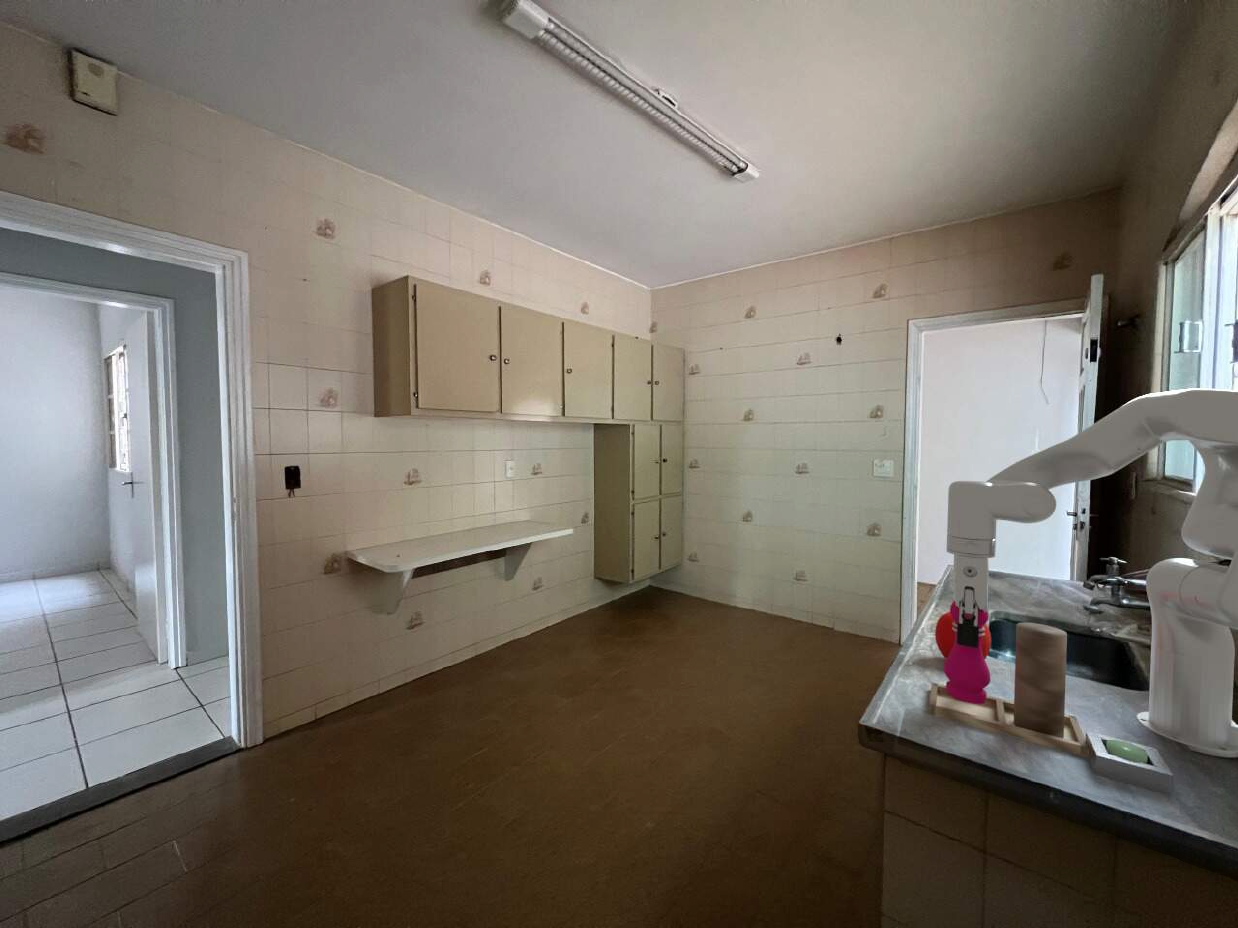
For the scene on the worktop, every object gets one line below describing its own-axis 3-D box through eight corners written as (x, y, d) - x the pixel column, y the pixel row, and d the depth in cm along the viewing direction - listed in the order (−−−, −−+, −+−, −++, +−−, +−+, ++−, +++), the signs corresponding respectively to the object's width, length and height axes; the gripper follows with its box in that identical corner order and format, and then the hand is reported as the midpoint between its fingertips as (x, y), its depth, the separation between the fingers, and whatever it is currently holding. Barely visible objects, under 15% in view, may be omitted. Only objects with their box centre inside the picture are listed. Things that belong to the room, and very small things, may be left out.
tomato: (933, 651, 123) (934, 601, 123) (986, 661, 118) (988, 608, 117) (935, 668, 113) (937, 614, 113) (994, 679, 108) (995, 622, 108)
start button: (1141, 771, 76) (1142, 745, 76) (1150, 786, 73) (1151, 760, 73) (1102, 760, 79) (1103, 736, 79) (1109, 775, 75) (1110, 749, 75)
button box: (1154, 773, 77) (1155, 748, 77) (1172, 802, 70) (1173, 775, 70) (1085, 754, 81) (1085, 730, 81) (1095, 780, 75) (1096, 755, 75)
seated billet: (1060, 726, 88) (1063, 627, 87) (1066, 744, 82) (1070, 639, 82) (1012, 714, 92) (1014, 619, 91) (1015, 731, 86) (1018, 630, 86)
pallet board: (1075, 730, 88) (1075, 716, 88) (1088, 762, 79) (1089, 747, 79) (931, 694, 101) (932, 682, 101) (928, 718, 92) (928, 705, 92)
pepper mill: (977, 691, 95) (981, 588, 95) (997, 708, 88) (1002, 597, 88) (936, 685, 97) (940, 584, 97) (953, 702, 89) (957, 592, 90)
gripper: (998, 556, 83) (994, 661, 84) (993, 542, 97) (990, 631, 98) (945, 550, 87) (941, 650, 88) (947, 537, 101) (945, 623, 102)
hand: (967, 639), depth 93 cm, fingers closed on pepper mill, 5 cm apart
